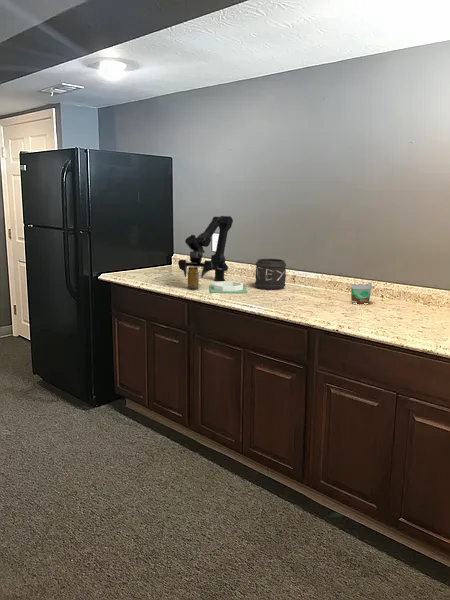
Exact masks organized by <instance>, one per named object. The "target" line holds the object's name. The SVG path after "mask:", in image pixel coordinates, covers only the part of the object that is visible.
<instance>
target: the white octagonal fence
mask: <svg viewBox="0 0 450 600" xmlns="http://www.w3.org/2000/svg"><path fill="white" fill-rule="evenodd" d="M213 285H214V290H219V291H238V290H243V285H244V284H243V282H237V281H216V282H213Z"/></svg>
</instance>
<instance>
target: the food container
mask: <svg viewBox="0 0 450 600" xmlns="http://www.w3.org/2000/svg"><path fill="white" fill-rule="evenodd" d="M372 283H373V282H368V283H366V284H363V283H359V284H355V283H350V285H349V286H350V287H349V288H350V293H351V295H350V296H351V297H350V298H351V302H350V304H351V303H357V304H364V303H370V299H371V292H372V289H373V288H374V287H373V284H372Z"/></svg>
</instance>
